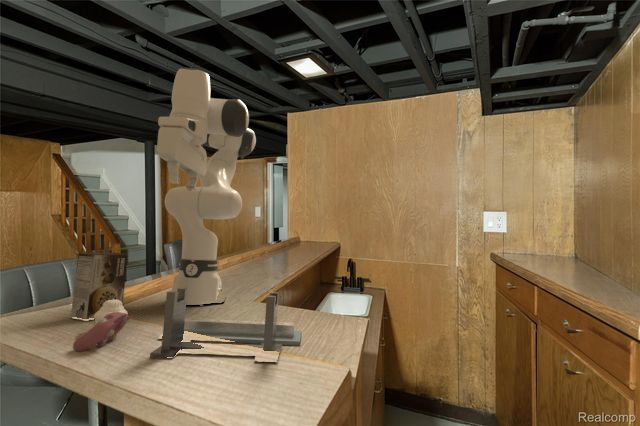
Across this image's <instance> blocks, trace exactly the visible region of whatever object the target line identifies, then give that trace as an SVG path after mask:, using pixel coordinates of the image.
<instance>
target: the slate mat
mask: <svg viewBox="0 0 640 426" xmlns="http://www.w3.org/2000/svg"><path fill="white" fill-rule="evenodd" d="M197 334H201V335H206V336H210V337H215V338H220V339H225V340H230V341H235V342H239V343H238V344H250V345H261V344H262V343H264V336H256V335H232V334H209V333H197ZM301 339H302V330H294V336H293V337H279V336H276V340H275V344H282V346H298V347H299V346H300V345H301Z"/></svg>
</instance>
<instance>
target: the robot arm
mask: <svg viewBox="0 0 640 426" xmlns="http://www.w3.org/2000/svg"><path fill="white" fill-rule="evenodd" d="M209 75H210V74H208V73H207V72H205V71H204V70H202V69H198V68H193V67H183V68H179V69H178V70H177V72H176V74H175V78H174V82H173V86H172V91H171V104H172V105H171V107H172V109H171V112H170V114H169V116H159V117H158V119H157V120H158V121H157V125H158V126H159V128H158V132H157V133H158V134H157V145H156V148H157V149H156V151H157V154H158V157H159V158H160V159H162V160H164V161H165V162H167V171H168V175H169V176H168V177H169V178H168V182H169V183H170V184H173V185H178V184H179V185H180V181H181V180H180V179H181V176H180V172H179V170H181V171H183V172H184V173H186V174H188V182H187V183H186V185H184V186H177V187H172V188H170V189H169V190H168V191H167V193H166V194H165V197H164V206H165V210H166V211H167V212H168V213H169V215H171V216H172V217H173V218H174V219H175V220H176V222H177V223H178V226H179V227H180V231H181V236H182V245H181V247H182V248H181V258H180V259H179V264H178V270H179V271H178V273H177V274H176V275H174V277H173V281H172V288H171V291H176V292H177V289H178V288H188V291H187V301H186V305H195V304H202V303H206V302H210V301H213V300H217V296H218V294H219V292H221V293H222V290H223V288H222V284H223V283H222V282H223V281H222V279H221V277H220V275H219V273H218V268H219V267H218V266H219V262H220V261H219V260H218V259H217V255H218V245H219V239H218V236H217V234H216V233H215V232H213V231H212V230H210V229H208V228H206V227H205V225H204V219H205V220H221V221H222V220H228V219H229V220H230V219H235V218H237V217H238V216H239V215H240V213H241V212H242V208H243V199H242V197H241V194H240V193H239V192H238V191H237V190H235V189H234V188H232V187H231V184H232V181H233V179H234V176H235V173H236V169H237V161H238V158H239V157H240V159H241V160H242V159H244V158H245V157H246V156H249V155H250V154H251V153H252V152H253V150H254V149H255V146H256V145H257V144H256V143H257V138H256V134H255V131H254V130H252V129H251V128H249V123H250V114H249V111H248V108H247V106H246V104H245V103H244V102H243V101H242V100H241V99H233V98H232V99H231V98H230V99H225V98H214V97H211V80H210V79H211V78H210V76H209ZM204 146H205V147H208V148H213V149H216V150H217V151H216V152H215V153H214V154H212V156H211V157H210V158H209V159H208V156H207V155H208V154H207V151H206V149H205V148H204ZM207 159H208V161H207ZM198 181H199V183H200V186H197V183H198Z"/></svg>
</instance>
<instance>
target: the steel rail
mask: <svg viewBox="0 0 640 426" xmlns="http://www.w3.org/2000/svg"><path fill="white" fill-rule="evenodd" d="M295 326H296V325H295V322H284V321H277V324H276V336H279V337H293V336H294V331H295ZM184 331H188V332H193V333H209V334H232V335H256V336H264V331H265V321H257V320H256V321H255V320H241V319H240V320H237V319H235V320H234V319H214V318H212V319H211V318H192V317H191V318H190V317H189V318H188V317H185V323H184Z"/></svg>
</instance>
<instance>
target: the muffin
mask: <svg viewBox="0 0 640 426" xmlns="http://www.w3.org/2000/svg"><path fill="white" fill-rule="evenodd" d="M118 311H119V312H120V313H125V314H127V315H128V311H127V310H126V309H125V308H124V306H122V302H121V301H120V300H114V299H112V300H108V301H106V302H104V303H103V307H101V308H100V310H99V311H97V312H96V313H95V315H94V319H95V320H94V321H95V322H94V323H95V325H96V324H97V323H98V322H99V321H101V320H102V319H103V318H104V317H105V316H106V315H107V314H109V313H112V312H118ZM128 316H129V315H128Z"/></svg>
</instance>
